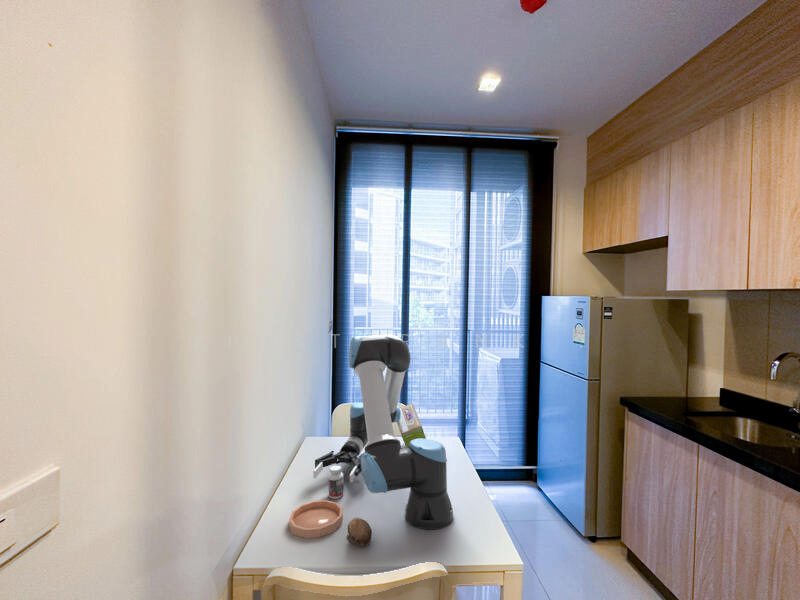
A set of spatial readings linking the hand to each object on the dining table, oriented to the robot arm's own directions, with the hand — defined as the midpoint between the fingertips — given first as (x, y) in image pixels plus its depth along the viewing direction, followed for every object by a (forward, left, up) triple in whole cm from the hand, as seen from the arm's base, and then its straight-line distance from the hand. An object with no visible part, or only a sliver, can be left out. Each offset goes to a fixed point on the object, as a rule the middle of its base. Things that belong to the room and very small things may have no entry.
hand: (332, 476), depth 131 cm
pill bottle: (0, -1, -7) cm, 7 cm away
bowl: (-11, +11, -7) cm, 17 cm away
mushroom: (-28, +5, -7) cm, 30 cm away
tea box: (+17, -50, -2) cm, 53 cm away
